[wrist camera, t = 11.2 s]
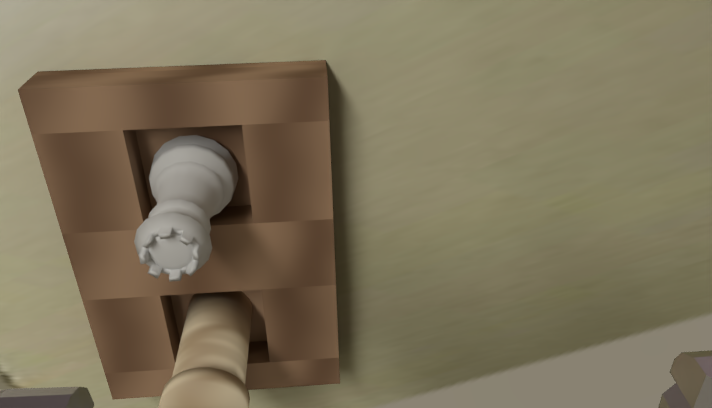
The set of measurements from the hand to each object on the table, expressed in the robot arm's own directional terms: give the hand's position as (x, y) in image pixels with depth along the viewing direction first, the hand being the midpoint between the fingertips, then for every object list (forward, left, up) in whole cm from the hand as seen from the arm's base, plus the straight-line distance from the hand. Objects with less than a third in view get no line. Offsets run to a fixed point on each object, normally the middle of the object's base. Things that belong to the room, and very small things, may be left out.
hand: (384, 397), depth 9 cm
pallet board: (+7, +13, -24) cm, 28 cm away
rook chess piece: (+7, +8, -24) cm, 26 cm away
